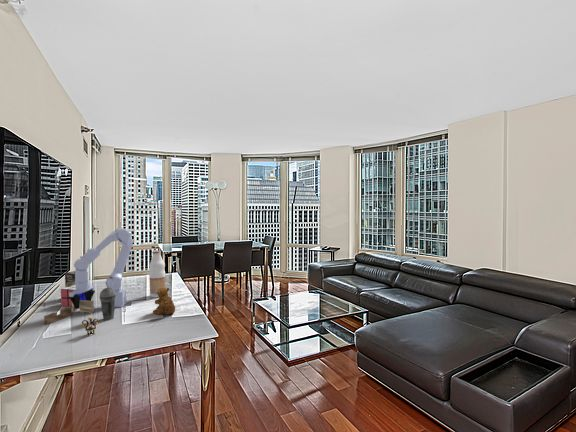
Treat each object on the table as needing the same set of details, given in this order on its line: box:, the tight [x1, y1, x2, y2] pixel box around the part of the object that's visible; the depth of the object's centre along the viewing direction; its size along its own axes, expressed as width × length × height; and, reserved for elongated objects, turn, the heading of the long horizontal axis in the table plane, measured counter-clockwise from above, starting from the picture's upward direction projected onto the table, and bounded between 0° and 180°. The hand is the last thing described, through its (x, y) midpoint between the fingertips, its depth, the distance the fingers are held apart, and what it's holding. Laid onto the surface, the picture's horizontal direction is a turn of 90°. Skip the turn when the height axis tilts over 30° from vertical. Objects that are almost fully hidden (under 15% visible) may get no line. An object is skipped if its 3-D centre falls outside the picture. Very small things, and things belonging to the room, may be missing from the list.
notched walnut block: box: [43, 306, 73, 325], centre depth 165 cm, size 14×2×4 cm, turn 168°
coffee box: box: [64, 270, 76, 288], centre depth 202 cm, size 9×6×16 cm
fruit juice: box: [148, 250, 167, 299], centre depth 204 cm, size 9×9×28 cm
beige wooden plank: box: [72, 300, 95, 314], centre depth 176 cm, size 2×12×6 cm, turn 78°
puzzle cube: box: [60, 285, 89, 308], centre depth 190 cm, size 10×10×10 cm
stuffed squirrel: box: [152, 287, 176, 316], centre depth 172 cm, size 10×14×13 cm
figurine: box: [81, 316, 100, 335], centre depth 145 cm, size 5×5×8 cm
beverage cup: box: [99, 278, 116, 321], centre depth 165 cm, size 7×7×20 cm
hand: (82, 306), depth 176 cm, fingers open, 7 cm apart
